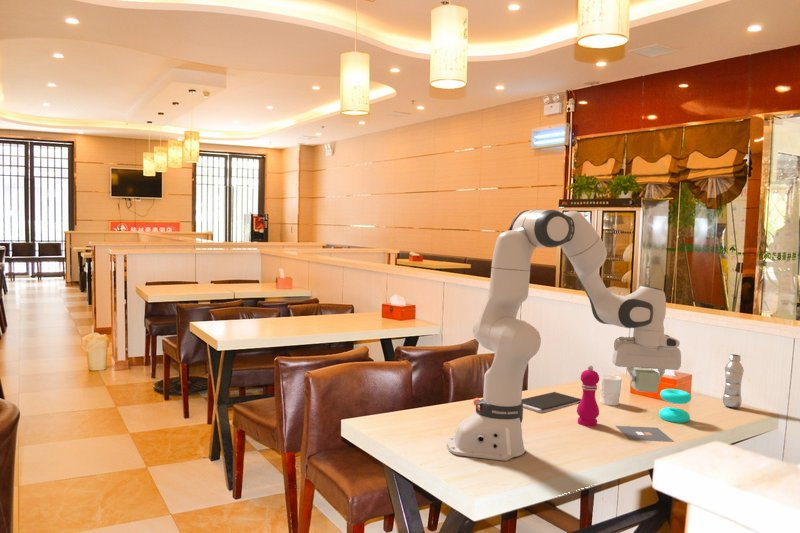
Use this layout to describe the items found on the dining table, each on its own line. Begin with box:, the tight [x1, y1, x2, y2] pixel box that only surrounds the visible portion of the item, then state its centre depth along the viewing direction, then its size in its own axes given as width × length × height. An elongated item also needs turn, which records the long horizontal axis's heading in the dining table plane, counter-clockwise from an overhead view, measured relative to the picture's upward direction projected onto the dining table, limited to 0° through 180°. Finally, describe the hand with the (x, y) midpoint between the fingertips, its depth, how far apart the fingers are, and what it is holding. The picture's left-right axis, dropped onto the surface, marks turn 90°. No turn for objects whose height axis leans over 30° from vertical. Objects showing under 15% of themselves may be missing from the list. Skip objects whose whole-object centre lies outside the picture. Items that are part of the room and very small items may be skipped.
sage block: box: [630, 368, 659, 393], centre depth 193 cm, size 6×6×6 cm
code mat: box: [615, 425, 675, 443], centre depth 200 cm, size 14×14×1 cm
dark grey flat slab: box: [522, 391, 582, 414], centre depth 233 cm, size 13×27×2 cm, turn 131°
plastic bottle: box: [722, 353, 744, 409], centre depth 236 cm, size 6×7×20 cm
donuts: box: [658, 388, 692, 424], centre depth 217 cm, size 10×10×10 cm
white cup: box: [599, 374, 623, 406], centre depth 235 cm, size 8×8×10 cm
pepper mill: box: [576, 365, 600, 428], centre depth 207 cm, size 7×7×20 cm
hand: (644, 382), depth 193 cm, fingers closed on sage block, 6 cm apart
